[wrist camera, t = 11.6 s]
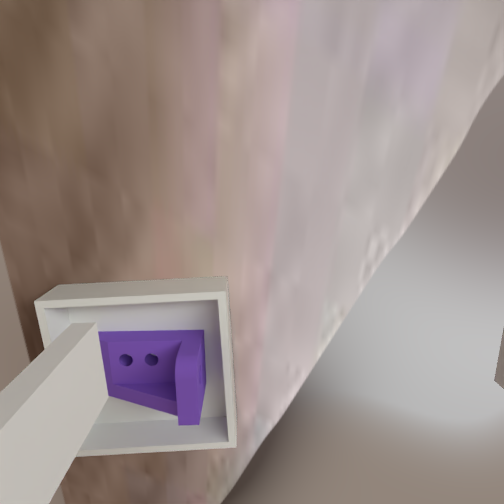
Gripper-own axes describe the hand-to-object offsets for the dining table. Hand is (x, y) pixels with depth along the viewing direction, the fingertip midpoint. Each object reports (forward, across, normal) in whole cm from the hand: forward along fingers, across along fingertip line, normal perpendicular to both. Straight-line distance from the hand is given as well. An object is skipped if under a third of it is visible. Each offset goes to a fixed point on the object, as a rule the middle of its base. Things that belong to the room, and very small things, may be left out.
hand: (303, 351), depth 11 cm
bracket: (+26, -13, -16) cm, 33 cm away
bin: (+26, -13, -16) cm, 33 cm away
